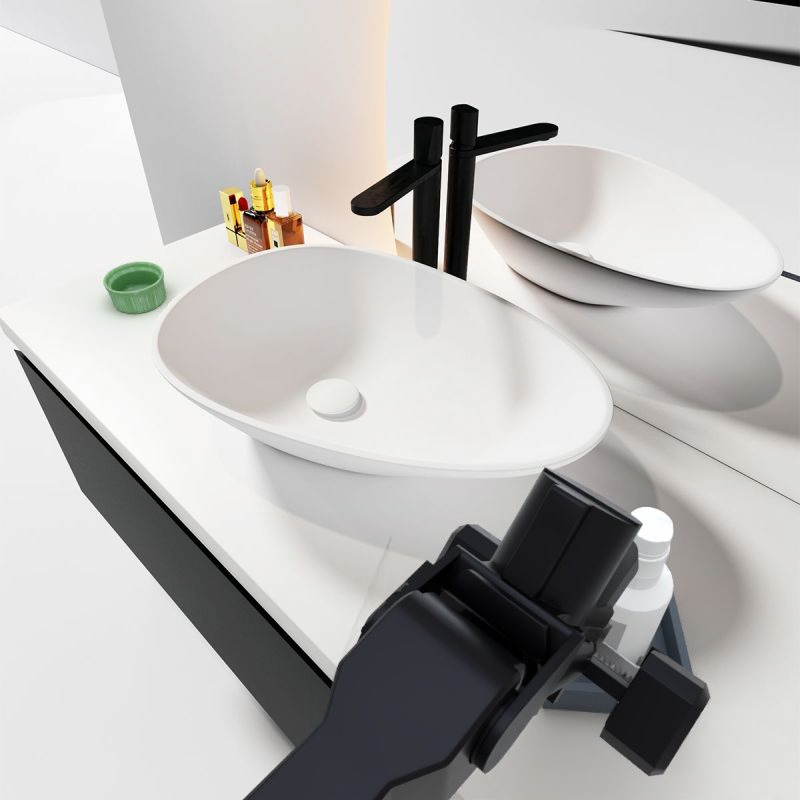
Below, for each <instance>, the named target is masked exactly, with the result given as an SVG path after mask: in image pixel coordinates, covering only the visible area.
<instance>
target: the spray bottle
mask: <svg viewBox="0 0 800 800" xmlns="http://www.w3.org/2000/svg"><path fill="white" fill-rule="evenodd" d="M630 514H631V515H633V516H634V517H636V518H637V519H638V520H639V521H641V522H642V523H643V525H642V527H641V529H640V530H639V532H638V534H637V535H636V537H635V539H634V540H633V541H634V542H635V544H636V545H637V548H638V559H639V568H638V572H637V574H636V575H635V577H634V578H633V579H632V580H631V582H630V583H629V585H628V586H627V588H626V589H625V591H624V592H623V593H622V595H621V596H620V598H619V599H618V601H617V602H616V604H615V605H614V607H613V610H614V614H613V616H612V618H611V619H610V621H609V623H610V624H611V625H612V628H611V629H610V631H609V633H608V634H607V636H606V638H605V639H604V642H605V643H606V644H608V645H609V646H610V647H612V648H613V649H615V650H616V651H617V652H619V653H620V654H622V655H623V656H624V657H626V658H627V659H629V660H630V661H631V662H633V663H634V664H636V662H637V661H638V659H639V657H640V656H643V657H644V656H645V654H646V652H647V649H648V647H649V645H650V643H651V641H652V639H653V637H654V634H655V632H656V630H657V628H658V626H659V624H660V621H661V619H662V617H663V615H664V613H665V611H666V609H667V606H668V604H669V602H670V600H671V598H672V594H673V593H674V580H673V576H672V572H671V571H670V569H669V568H668V566H667V565H666V562H667V559H668V557H669V554H670V551H671V541H672V539H673V537H674V522H673V520H672V519H671V518H670V516H669V515H667V514H666V513H665V512H664V511H662V510H660V509H658V508H654V507H650V506H649V507H648V506H642V507H638V508H636V509H634V510H633V511H631V513H630ZM594 656H595V657H596V658H598V652H597V653H596V654H594ZM598 659H599V658H598ZM603 659H604V657H603V656H602V657H601V658H600V659H599V660H600V661H602V662H603ZM603 663H604V662H603ZM605 664H606V665H607V666H609V660H608V661H607V662H605ZM609 667H610V666H609ZM610 668H611V669H613V670H614V668H615V665H614V664H613V665H612V666H611V667H610ZM620 670H621V669H620V668H619V669H618V670H616V671H615V670H614V671H615V672H617V673H618V674H619V675H620ZM625 674H626V673H624V674H622V675H625Z"/></svg>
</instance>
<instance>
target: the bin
mask: <svg viewBox="0 0 800 800" xmlns="http://www.w3.org/2000/svg"><path fill="white" fill-rule="evenodd" d="M652 646H653V647H655V648H656V649H658V650H659V651H661V652H662V653H663V654H665V655H666V656H668V657H669V658H671V659H672V660H674V661H675V662H676V663H678V664H679V665H681V666H682V667H684V668H685V669H686V670H688V671H689V672H691V673H692V674H694V671H693V667H692V664H691V660H690V655H689V651H688V647H687V643H686V639H685V634H684V630H683V626H682V622H681V618H680V614H679V610H678V605H677V600H676V597H675V593H674V592H673V594H672V598H671V600H670V602H669V604H668V606H667V609H666V611H665V613H664V615H663V617H662V619H661V621H660V624H659V626H658V628H657V630H656V632H655V634H654V637H653V639H652V641H651V643H650V645H649V647H648V649H647V652H648V651H649V649H650V648H651V647H652ZM647 652H646V653H647ZM645 655H646V654H645ZM621 676H622V677H623V678H625V679H626V674H625V675H621ZM615 701H616V700H615V699H614V698H613V697H612V696H610V695H609V694H608V693H606V692H605V691H604V690H602V689H601V688H600V687H598V686H597V685H596V684H594V683H593V682H592V681H590V680H589V679H588V678H587V677H585V676H584V675H583V674H582V675H581V676H580V677H578V678H577V679H576V680H574V681H572V682H571V683H569V684H567V686H566V688H565V689H564V691H563V693H562V694H561V696H560V698H559V699H558V701H557V702H555V703H554V704H552V703H551V702H550V701H549V700H547V699H546V700H545V702H544V703H543V705H542V707H541V708H542V709H546V710H556V711H557V710H558V711H571V712H583V713H584V712H587V713H597V714H608V715H609V714H610V712H611V710H612V708H613V706H614V703H615Z"/></svg>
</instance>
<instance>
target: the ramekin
mask: <svg viewBox="0 0 800 800" xmlns="http://www.w3.org/2000/svg"><path fill="white" fill-rule="evenodd" d="M164 278H165V273H164V270H163V268H162V267H161V266H160V265H159V264H157V263H154V262H152V261H151V262H150V261H132V262H127V263H123V264H120V265H118V266H116V267H114V268H112V269H111V270H110V271H108V272H107V273H106V274H105V276H104V277H103V281H102V283H103V286H104V288H105V290H106V291H107V293H108V295H109V297H110V300H111V302H112V305H113V306H114V308H115V309H116V310H117V311H119V312H121V313H125V314H142V313H146V312H150V311H153V310H155V309H157V308H158V307H159V306H160V305H161V304H163V303H164V301H165V299H166V297H167V293H166V286H165V285H166V284H165V281H164V280H165V279H164Z"/></svg>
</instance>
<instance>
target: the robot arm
mask: <svg viewBox="0 0 800 800" xmlns="http://www.w3.org/2000/svg"><path fill="white" fill-rule="evenodd" d="M642 525H643V523H642V522H641V521H639V520H638V519H637V518H636V517H634V516H633V515H631V513H630V512H628V511H627V510H625V509H624V508H622V507H621V506H619V505H618V504H616V503H615V502H613V501H611V500H610V499H608V498H606V497H604V496H603V495H601V494H600V493H598V492H596V491H594V490H592V489H590V488H589V487H587V486H586V485H584V484H581V482H578V481H576V480H574V479H572V478H571V477H569V476H567V475H564V474H563V473H560V472H559V471H556V470H555V469H552V468H549V467H546V466H544V468H543V469H542V470H541V472H540V473H539V476H538V477H537V479H536V480H535V482H534V484H533V486H532V488H531V489H530V491H529V493H528V494H527V496H526V498H525V499H524V501H523V503H522V505H521V507H520V508H519V510H518V512H517V514H516V515H515V517H514V518H513V520H512V522H511V524H510V525H509V527H508V529H507V531H506V533H505V535H504V536H503V537H502V539H499V538H498V537H497V536H495V535H494V534H492V533H491V532H489V531H488V530H486V529H485V528H484V527H482V526H480V524H476V523H475V524H474V523H466V524H462V525H459V526H458V527H457V528H455V529H454V531H453V532H452V533H450V535H449V537H448V539H447V540H446V542H445V544H444V546H443V548H442V549H441V552H440V553H439V555H438V556H437V558H436V560H435V562H434V563H432V562H431V561H430V560H428V559H426V560H425V561H424V562H423V563H422V564H421V565H420V566H419V567H418V568H417V569H416V570H415V571H414V572H413V573H412V574H411V575H410V576H408V578H406V579H405V580H404V582H403V583H402V584H400V585H399V586H398V587H397V589H396V590H394V591H393V592H392V593H391V594H390V595H389V596H388V597H387V598H386V599H385V600H384V601H383V602H381V604H380V605H379V606H378V607H377V608H376V609H374V611H372V613H370V615H369V616H368V617H367V618H366V620H365V623H364V624H363V626H362V627H361V629H360V634H359V637H358V639H357V641H356V642H355V644H354V645H353V646H352V647H351V648H350V649H349V650H348V652H346V653H345V655H344V656H343V657H342V658H341V659H340V661H339V662H338V664H337V666H336V670H335V673H334V676H333V681H332V683H331V686H330V690H329V694H328V697H327V701H326V705H325V708H324V712H323V715H322V718H321V719H320V720H319V721H318V722H317V724H316V725H315V726H314V727H313V728H312V729H311V730H310V731H309V732H308V734H307V735H306V736H305V737H304V738H303V739H302V741H300V742H299V744H298V743H297V745H296V746H295V747H294V748H293V749H292V750H291V751H290V752H289V753H288V754H287V755H286V756H285V757H284V758H283V759H282V760H281V761H280V762H279V763H278V764H277V765H276V766H275V767H274V768H273V769H272V770H270V772H269V773H268V774H267V775H266V776H265V777H264V778H263V779H262V780H260V782H259V783H257V785H255V786H254V788H252V789H251V791H249V793H247V795H245V797H244V798H243V799H242V800H450V799H451V798H452V797H454V795H455V794H456V792H457V791H458V790H459V789H460V788H461V787H462V786H463V784H464V783H465V782H466V781H467V780H468V779H469V777H471V775H473V773H474V772H475V771H476V770H477V769H479V771H481V773H483V774H484V775H486V774H488V773H490V772H491V771H492V770H493V769H494V768H495V767H496V766H497V765H498V764H499V763H500V762H501V760H502V759H503V758H504V756H506V754H507V753H508V752H509V750H510V749H511V748H512V746H513V745H514V744H515V742H516V741H517V739H518V738H519V737H520V735H521V734H522V733H523V731H524V730H525V728H526V727H527V726H528V724H529V723H530V722H531V720H532V719H533V718H534V717H535V716H537V715H538V713H539V712H540V710H541V708H542V705H543V703H544V702H545V700H546V699H547V700H549V701H550V702H551V703H552V704H554V703H555V702H557V701H558V699H559V698H560V696H561V694H562V693H563V691H564V689H565V688H566V686H567V684H569V683H571V682H572V681H574V680H576V679H577V678H578V677H580V676H581V675H582V674H583V675H584V676H585V677H587V678H588V679H589V680H590V681H592V682H593V683H594V684H596V685H597V686H598V687H600V688H601V689H602V690H604V691H605V692H606V693H608V694H609V695H610V696H612V697H613V698H614V699H615V700H616V701H615V703H614V706H613V708H612V710H611V712H610V714H609V713H608V716H607V718H606V720H605V722H604V726H602V727H603V728H602V730H601V732H600V734H599V738H600V739H601V740H603V741H604V742H605V743H606V744H608V745H609V746H610V747H611V748H613V749H614V750H615V751H617V752H618V753H619V754H620V755H621V756H623V757H624V758H625V759H626V760H627V761H629V762H630V763H631V764H633V765H634V766H635V767H636V768H638V769H639V770H640V771H641V772H643V773H644V774H645V775H647V777H653V776H660V775H664V774H665V772H666V770H668V768H669V766H670V764H671V763H672V761H673V760H674V758H675V756H676V754H677V753H678V752H679V750H680V748H681V746H682V745H683V743H684V742H685V740H686V739H687V737H688V735H689V734H690V732H691V730H692V729H693V727H694V726H695V724H696V722H697V721H698V719H699V718H700V716H701V715H702V714H703V711H704V710H705V708H706V706H707V705H708V703H709V702H710V700H711V698H712V696H711V693H710V689H709V686H708V683H707V682H705V681H704V680H702V679H701V678H700V677H698V676H697V675H695V674H694V673H693V674H692V673H691V672H689V671H688V670H686V669H685V668H684V667H682V666H681V665H679V664H678V663H676V662H675V661H674V660H672V659H671V658H669V657H668V656H666V655H665V654H663V653H662V652H661V651H659V650H658V649H656V648H655V647H653V646H652V647H651V648H650V649H649V651H648V652H647V653H646V655H645V656H644V657H643V656H640V657H639V659H638V661H637V662H636V664H634V663H633V662H631V661H630V660H629V659H627V658H626V657H624V656H623V655H622V654H620V653H619V652H617V651H616V650H615V649H613V648H612V647H610V646H609V645H608V644H606V643H605V642H604V639H605V638H606V636H607V634H608V633H609V631H610V629H611V628H612V625H611V624H610V623H609V621H610V619H611V618H612V616H613V614H614V610H613V607H614V605H615V604H616V602H617V601H618V599H619V598H620V596H621V595H622V593H623V592H624V591H625V589H626V588H627V586H628V585H629V583H630V582H631V580H632V579H633V578H634V577H635V575H636V574H637V572H638V568H639V559H638V548H637V545H636V544H635V542H634V541H633V540H634V539H635V537H636V535H637V534H638V532H639V530H640V529H641V527H642ZM597 652H598V658H599V659H600V658H601V657H602V656H603V657H604V659H603V662H604V663H603V662H602V661H600V660H599V659H598V658H596V657H595V656H594V654H596V653H597ZM608 660H609V666H610V667H611V666H612V665H613V664H614V665H615V668H614V670H615V671H616V670H618V669H619V668H620V669H621V670H620V675H619V674H618V673H617V672H615V671H614V670H613V669H611V668H610V667H609V666H607V665H606V664H605V662H607V661H608ZM624 673H626V679H625V678H623V677H622V676H621V675H622V674H624Z"/></svg>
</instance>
